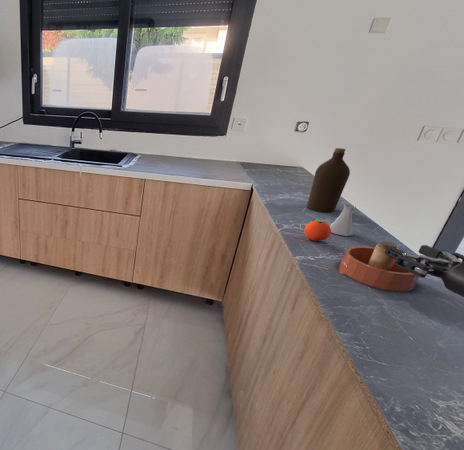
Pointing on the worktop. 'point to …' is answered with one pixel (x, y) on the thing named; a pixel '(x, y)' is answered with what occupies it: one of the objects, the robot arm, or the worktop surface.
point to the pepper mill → (382, 256)
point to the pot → (375, 271)
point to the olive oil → (329, 183)
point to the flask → (344, 222)
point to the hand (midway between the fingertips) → (404, 249)
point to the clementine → (317, 230)
